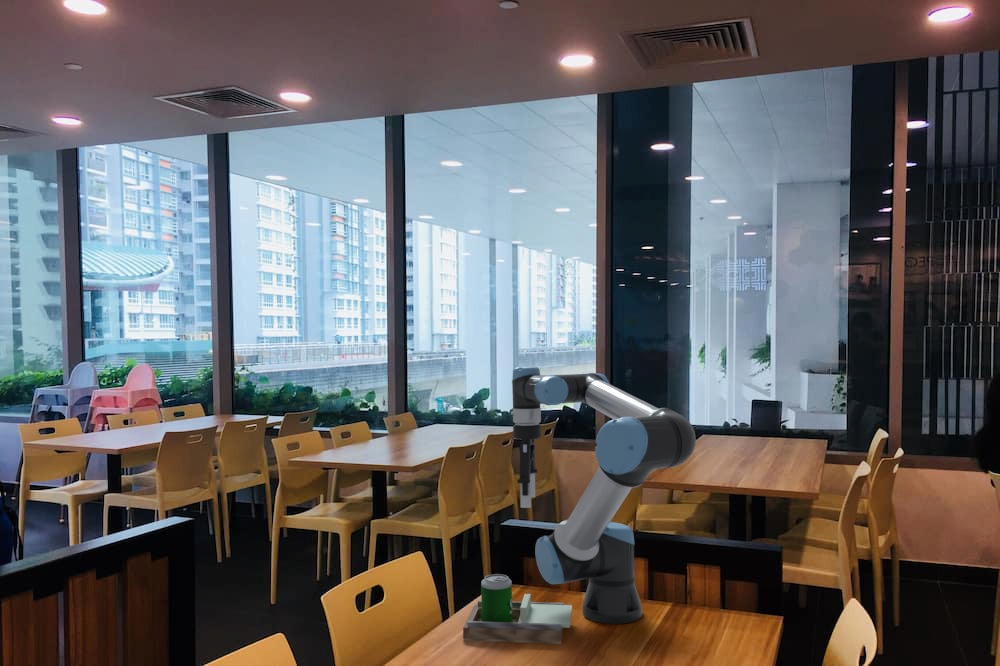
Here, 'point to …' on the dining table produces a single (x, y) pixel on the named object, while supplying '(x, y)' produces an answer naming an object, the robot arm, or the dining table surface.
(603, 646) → the dining table surface
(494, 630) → the wooden tray box
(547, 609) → the lid
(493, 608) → the soda can
